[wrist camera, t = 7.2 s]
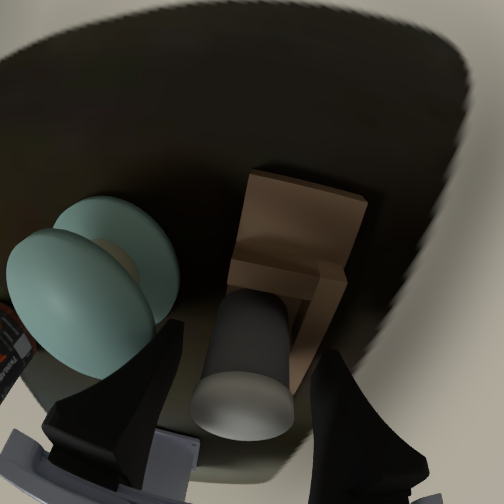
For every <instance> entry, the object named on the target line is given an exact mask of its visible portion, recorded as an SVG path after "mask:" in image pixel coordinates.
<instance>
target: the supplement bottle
mask: <svg viewBox="0 0 504 504" xmlns="http://www.w3.org/2000/svg"><path fill="white" fill-rule="evenodd" d="M36 350H37V344H36V340H35V338H34V337H33V336H32V335H31V334H30V332H29V331H28V330H27V328H26V327H25V325H24V324H23V322H22V321H21V319H20V317H19V316H18V314H17V312H16V311H15V310H14V309H12V308H11V307H9V306H8V305H6V304H4V303H1V302H0V405H1V403H2V401H3V400H4V399H5V397H6V395H7V394H8V392H9V391H10V389H11V388H12V386H13V385H14V383H15V382H16V380H17V379H18V377H19V376H20V374H21V373H22V372H23V370H24V369H25V368H26V366H27V365H28V363H29V362H30V360H31V359H32V357H33V356H34V354H35V353H36Z"/></svg>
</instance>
